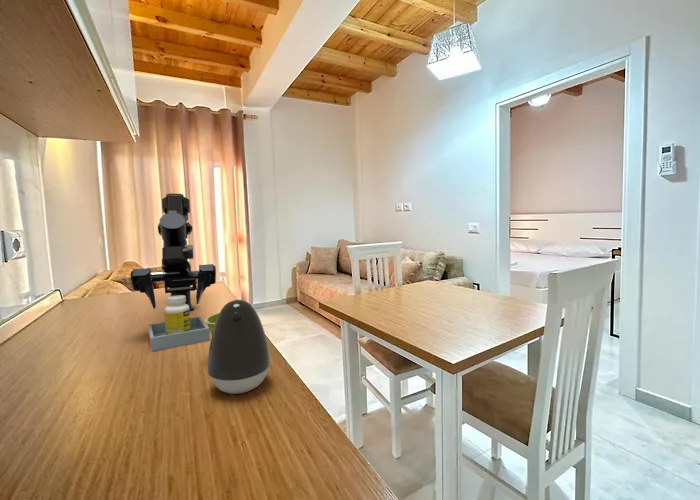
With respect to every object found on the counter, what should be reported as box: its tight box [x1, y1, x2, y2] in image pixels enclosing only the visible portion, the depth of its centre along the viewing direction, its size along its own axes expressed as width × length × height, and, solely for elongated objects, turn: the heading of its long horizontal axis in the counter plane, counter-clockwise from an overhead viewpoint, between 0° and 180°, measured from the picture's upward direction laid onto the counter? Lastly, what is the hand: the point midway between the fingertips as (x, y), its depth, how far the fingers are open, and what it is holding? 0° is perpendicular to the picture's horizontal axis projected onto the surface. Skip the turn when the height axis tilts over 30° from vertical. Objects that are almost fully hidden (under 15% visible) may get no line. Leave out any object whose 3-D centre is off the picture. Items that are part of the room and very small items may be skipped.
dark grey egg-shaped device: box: [207, 299, 271, 395], centre depth 57 cm, size 10×10×15 cm
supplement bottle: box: [164, 295, 191, 335], centre depth 82 cm, size 5×5×10 cm
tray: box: [147, 316, 211, 352], centre depth 82 cm, size 12×12×3 cm
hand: (176, 305), depth 80 cm, fingers open, 9 cm apart
